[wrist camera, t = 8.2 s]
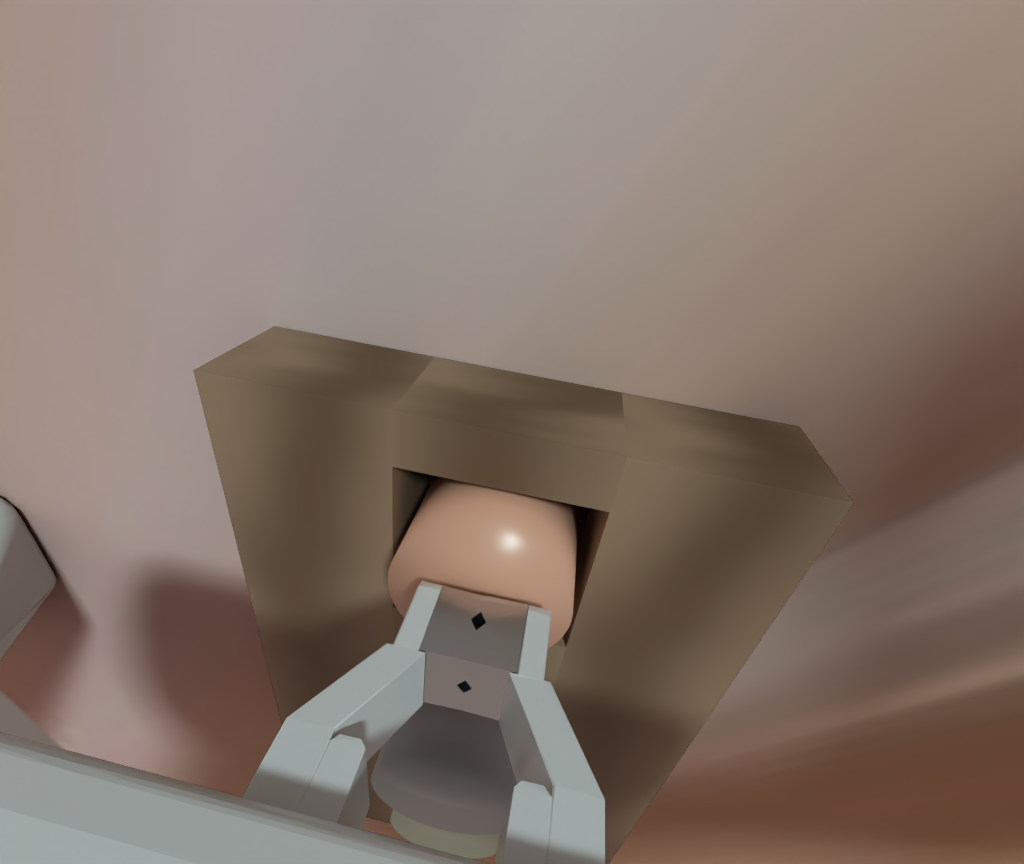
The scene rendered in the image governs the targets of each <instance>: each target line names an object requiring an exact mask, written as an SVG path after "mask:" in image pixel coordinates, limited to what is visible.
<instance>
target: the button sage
mask: <svg viewBox="0 0 1024 864" xmlns="http://www.w3.org/2000/svg"><path fill="white" fill-rule="evenodd" d="M390 821H391V824H392V826H393V828H394V829H395V830H396V832H397V833H398V834H400V835H401V836H402V837H403V838H405V839H406V840H408V841H410V842H411V843H413V844H417V845H421V846H424V847H428V848H432V849H436V850H439V851H443V852H447V853H450V854H454V855H458V856H462V857H465V858H469V859H481V858H487V857H490V856H493V855H494V854H496V850H497V844H498V839H499V835H500V833H496V834H489V835H469V834H460V833H454V832H449V831H444V830H440V829H437V828H433V827H430V826H427V825H424V824H422V823H419V822H417V821H414V820H412V819H410V818H408V817H406V816H404V815H402V814H400V813H399V812H397V811H396V810H394V809H393V812H392V815H391V819H390Z"/></svg>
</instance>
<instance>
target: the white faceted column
mask: <svg viewBox="0 0 1024 864" xmlns="http://www.w3.org/2000/svg"><path fill="white" fill-rule="evenodd" d="M56 580H57V579H56V577H55V575H54V573H53V571H52V569H51V567H50V566H49V564H48V562H47V560H46V559H45V557H44V555H43V553H42V552H41V550H40V548H39V546H38V545H37V543H36V541H35V540H34V538H33V536H32V535H31V533H30V531H29V530H28V528H27V527H26V525H25V523H24V522H23V520H22V518H21V517H20V515H19V514H18V512H17V511H16V510H15V508H14V507H13V506H12V505H11V504H10V503H8V502H7V501H5V500H4V499H2V498H0V661H1V660H2V658H3V657H4V656H5V654H6V653H7V652H8V650H9V649H10V648H11V646H12V645H13V643H14V642H15V641H16V639H17V638H18V637H19V635H20V634H21V633H22V631H23V630H24V628H25V627H26V626H27V624H28V623H29V622H30V620H31V619H32V618H33V616H34V615H35V613H36V612H37V611H38V609H39V608H40V607H41V605H42V604H43V602H44V601H45V600H46V598H47V597H48V595H49V594H50V593H51V591H52V590H53V589H54V586H55V583H56Z"/></svg>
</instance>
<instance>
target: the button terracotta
mask: <svg viewBox="0 0 1024 864" xmlns="http://www.w3.org/2000/svg"><path fill="white" fill-rule="evenodd" d="M577 539H578V510H577V506H576V505H572V504H568V503H563V502H558V501H553V500H549V499H544V498H539V497H534V496H529V495H525V494H520V493H515V492H510V491H506V490H501V489H496V488H491V487H486V486H482V485H477V484H472V483H467V482H462V481H458V480H453V479H448V478H443V477H439V476H436V477H435V478H434V480H433V482H432V483H431V485H430V487H429V489H428V491H427V493H426V495H425V497H424V499H423V501H422V503H421V505H420V507H419V509H418V511H417V513H416V515H415V517H414V519H413V521H412V523H411V525H410V527H409V529H408V531H407V533H406V535H405V537H404V539H403V541H402V542H401V544H400V546H399V548H398V550H397V552H396V554H395V556H394V558H393V560H392V562H391V564H390V568H389V571H388V588H389V592H390V595H391V598H392V600H393V602H394V605H395V606H396V608H397V609H398V611H399V612H400V614H401V615H402V616H403V617H404V618H405V615H406V613H407V611H408V608H409V606H410V604H411V601H412V599H413V597H414V594H415V592H416V590H417V587H418V586H419V584H420V583H421V582H422V581H426V582H430V583H434V584H439V585H443V586H447V587H451V588H455V589H458V590H462V591H466V592H470V593H474V594H478V595H482V596H491V597H495V598H500V599H505V600H510V601H514V602H519V603H524V604H528V606H529V605H530V606H535V607H539V608H544V609H549V610H550V611H551V622H550V631H549V640H548V648H550V647H551V646H553V645H554V644H555V643H557V642H558V641H559V640H560V639H561V638H562V637H563V636H564V634H565V633H566V631H567V630H568V628H569V626H570V623H571V620H572V616H573V605H574V588H575V572H576V555H577Z"/></svg>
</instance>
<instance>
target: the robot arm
mask: <svg viewBox="0 0 1024 864" xmlns="http://www.w3.org/2000/svg"><path fill="white" fill-rule="evenodd" d="M550 622H551V611H550V610H549V609H544V608H539V607H535V606H530V605H529V606H528V604H524V603H519V602H514V601H510V600H505V599H500V598H495V597H491V596H482V595H478V594H474V593H470V592H466V591H462V590H458V589H455V588H451V587H447V586H443V585H439V584H434V583H430V582H426V581H422V582H421V583H420V584H419V586H418V587H417V590H416V592H415V594H414V597H413V599H412V601H411V604H410V606H409V608H408V611H407V613H406V615H405V618H404V620H403V622H402V625H401V627H400V629H399V632H398V634H397V636H396V639H395V641H394V644H389V643H386V644H385V645H383V646H382V647H381V648H379V649H378V650H377V651H375V652H374V653H373V654H371V655H370V656H369V657H367V658H366V659H365V660H363V661H362V662H361V663H359V664H358V665H357V666H355V667H354V668H353V669H351V670H350V671H349V672H347V673H346V674H345V675H343V676H342V677H341V678H339V679H338V680H336V681H335V682H334V683H332V684H331V685H330V686H328V687H327V688H326V689H324V690H323V691H322V692H320V693H319V694H318V695H316V696H315V697H314V698H312V699H311V700H310V701H308V702H307V703H306V704H304V705H303V706H302V707H300V708H299V709H298V710H296V711H295V712H294V713H292V714H291V715H290V716H288V717H287V718H286V720H285V722H284V723H283V725H282V727H281V729H280V731H279V732H278V734H277V736H276V738H275V739H274V741H273V743H272V745H271V746H270V748H269V750H268V752H267V754H266V755H265V757H264V759H263V761H262V762H261V764H260V766H259V768H258V770H257V771H256V773H255V775H254V777H253V778H252V780H251V782H250V784H249V786H248V787H247V789H246V791H245V793H244V794H243V796H242V797H239V796H235V795H232V794H228V793H224V792H221V791H217V790H213V789H210V788H206V787H202V786H198V785H195V784H191V783H187V782H184V781H180V780H176V779H172V778H169V777H165V776H161V775H158V774H154V773H150V772H146V771H143V770H139V769H135V768H132V767H128V766H124V765H121V764H117V763H113V762H109V761H106V760H102V759H98V758H95V757H91V756H87V755H83V754H80V753H76V752H72V751H69V750H65V749H61V748H58V747H54V746H50V745H46V744H43V743H39V742H35V741H31V740H28V739H24V738H20V737H17V736H13V735H9V734H6V733H2V732H0V864H487V863H484V862H480V861H476V860H473V859H469V858H465V857H462V856H458V855H454V854H450V853H447V852H443V851H439V850H436V849H432V848H428V847H424V846H421V845H417V844H413V843H410V842H406V841H402V840H399V839H395V838H391V837H387V836H384V835H380V834H376V833H373V832H369V831H365V830H362V827H363V824H364V821H365V818H366V815H367V812H368V809H369V806H370V802H369V788H368V774H367V761H368V760H369V759H370V758H371V757H372V756H373V755H374V754H375V753H376V752H377V751H378V750H379V749H380V748H381V747H382V746H383V745H384V744H385V743H386V742H387V741H388V740H389V739H390V738H391V737H392V736H393V735H394V734H395V733H396V732H397V731H398V729H399V728H400V727H401V726H402V725H403V724H404V723H405V722H406V721H407V720H408V719H409V718H410V717H411V716H412V715H413V714H414V713H415V712H416V711H417V710H418V709H419V708H420V707H421V706H422V705H423V702H426V703H430V704H435V705H440V706H444V707H449V708H453V709H458V710H461V709H462V711H466V712H470V713H473V714H477V715H480V716H484V717H488V718H491V719H495V720H498V721H499V725H500V728H501V732H502V735H503V739H504V742H505V745H506V749H507V752H508V755H509V759H510V762H511V766H512V769H513V772H514V776H515V779H516V782H517V785H516V786H515V787H514V789H513V792H512V796H511V799H510V802H509V806H508V809H507V812H506V815H505V819H504V822H503V825H502V829H501V832H500V835H499V839H498V844H497V850H496V857H495V863H494V864H605V799H604V797H603V794H602V792H601V790H600V788H599V786H598V784H597V781H596V779H595V777H594V775H593V773H592V771H591V768H590V766H589V764H588V762H587V760H586V758H585V755H584V753H583V751H582V749H581V747H580V745H579V742H578V740H577V738H576V736H575V734H574V732H573V729H572V727H571V725H570V723H569V721H568V719H567V716H566V714H565V712H564V710H563V708H562V706H561V703H560V701H559V699H558V697H557V695H556V693H555V690H554V688H553V686H552V684H551V682H548V681H545V680H544V676H545V667H546V658H547V649H548V640H549V631H550Z"/></svg>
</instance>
